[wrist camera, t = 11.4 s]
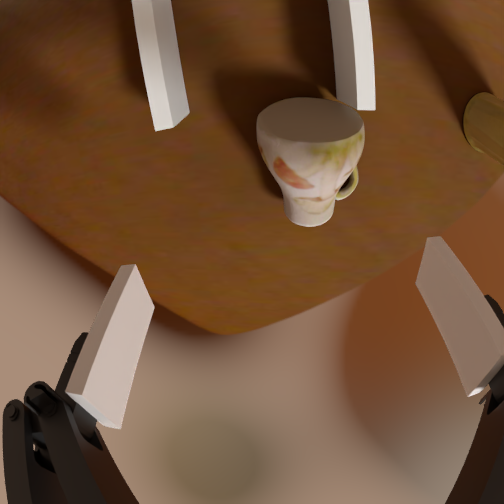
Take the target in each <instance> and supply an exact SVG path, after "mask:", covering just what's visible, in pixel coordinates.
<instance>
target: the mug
mask: <svg viewBox="0 0 504 504" xmlns="http://www.w3.org/2000/svg"><path fill="white" fill-rule="evenodd" d="M364 135H365V132H364V123H363V120H362V118H361V117H360V115H359V114H358V113H357V112H356V111H355V110H353V109H352V108H351V107H349V106H346V105H344V104H341V103H338V102H336V101H331V100H327V99H320V98H308V97H296V98H289V99H284V100H280V101H278V102H276V103H273V104H271V105H270V106H268V107H267V108H265V109H264V110H263V111H262V112H261V113H260V114H259V115H258V118H257V142H258V147H259V150H260V153H261V155H262V158H263V160H264V162H265V164H266V165H267V167H268V169H269V170H270V172H271V173H272V175H273V176H274V178H275V179H276V181H277V183H278V184H279V186H280V187H281V190H282V193H283V198H284V211H285V214H286V216H287V217H288V218H289V219H290V220H291V221H292V222H294V223H296V224H298V225H302V226H307V227H313V226H317V225H321V224H323V223H325V222H326V221H328V220H329V219H330V217H331V216H332V214H333V209H334V204H335V199H336V200H341V199H344V198H346V197H347V196H348V195H350V194H351V193H352V192H353V190H354V189H355V187H356V185H357V183H358V168H357V163H358V161H359V159H360V157H361V154H362V151H363V146H364ZM349 176H350V180H349V183H348V185H347V186H346V187H344V188H343V189H341V190H339V189H340V188H341V186H342V185H343V184H344V182H345V181H346V180H347V178H348V177H349Z"/></svg>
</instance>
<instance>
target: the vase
mask: <svg viewBox="0 0 504 504" xmlns="http://www.w3.org/2000/svg"><path fill="white" fill-rule="evenodd" d="M463 127H464V133H465V136H466V138H467V140H468V142H469V143H470V145H471V146H472V147H473V148H474V149H475V150H477V151H479V152H482V153H485V154H487V155H489V156H490V157H492V158H493V159H495V160H496V161H498V162H499V163H501V164H502V165H504V101H503V100H501V99H499V98H497V97H496V96H494V95H492V94H490V93H487V92H482V93H478V94H476V95H475V96H474V97H472V99H471V100H470V101H469V102H468V104H467V106H466V109H465V112H464V118H463Z"/></svg>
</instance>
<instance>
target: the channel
mask: <svg viewBox="0 0 504 504" xmlns="http://www.w3.org/2000/svg"><path fill="white" fill-rule="evenodd" d="M327 1H328V8H329V16H330V24H331V33H332V43H333V53H334V65H335V79H336V96H337V99H338V100H340V101H342V102H344V103H346V104H347V105H349V106H351V107H353V108H355V109H357V110H375V76H374V57H373V44H372V32H371V22H370V14H369V6H368V0H327ZM132 7H133V14H134V21H135V27H136V34H137V40H138V46H139V52H140V57H141V63H142V68H143V74H144V79H145V84H146V89H147V94H148V99H149V104H150V109H151V113H152V118H153V122H154V127H155V131H159V130H163V129H168V128H173V127H175V126H176V125H177V124H178V123H179V122H180V121H181V120H182V119H183V118H185V117H186V116H187V115H188V114H189V113H190V112H189V107H188V102H187V96H186V91H185V85H184V79H183V73H182V68H181V62H180V56H179V50H178V44H177V37H176V31H175V24H174V18H173V11H172V4H171V0H132Z"/></svg>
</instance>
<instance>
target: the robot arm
mask: <svg viewBox="0 0 504 504" xmlns="http://www.w3.org/2000/svg"><path fill="white" fill-rule="evenodd" d="M415 284H416V286H417V287H418V289H419V291H420V293H421V295H422V297H423V299H424V301H425V303H426V304H427V306H428V308H429V310H430V312H431V314H432V316H433V318H434V320H435V323H436V324H437V327H438V329H439V331H440V333H441V335H442V337H443V339H444V342H445V344H446V346H447V348H448V350H449V353H450V355H451V357H452V360H453V362H454V364H455V367H456V369H457V372H458V374H459V376H460V379H461V382H462V384H463V387H464V389H465V392H466V394H467V397H469V396H472V395H474V394H477V393H479V392H481V391H482V390H483V389H484V388H485V387H486V386H487V384H489V386H490V388H491V389H490V390H489V391H488V392H487V394H486V395H485V396H484V397H483V398H482V399H481V400H480V402H479V404H482V403H483V402H484V401H485V400H486V402H485V404H484V409H483V412H482V416H481V419H480V422H479V425H478V428H477V431H476V434H475V437H474V440H473V442H472V445H471V448H470V450H469V453H468V455H467V458H466V460H465V463H464V466H463V467H462V470H461V472H460V474H459V476H458V479H457V481H456V483H455V485H454V487H453V489H452V491H451V493H450V495H449V497H448V499H447V501H446V503H445V504H504V314H503V311H502V309H501V308H500V306H499V305H498V303H497V302H496V301H495V300H494V299H492V297H490V296H489V295H485V296H484V295H483V294H482V292H481V291H480V289H479V288H478V286H477V285H476V283H475V282H474V281H473V279H472V278H471V276H470V275H469V273H468V272H467V271H466V269H465V268H464V267H463V265H462V264H461V262H460V261H459V260H458V258H457V257H456V256H455V254H454V253H453V252H452V250H451V249H450V248H449V246H448V245H447V244H446V243H445V241H444V240H443V239H442V238H441V237H440V236H439V237H428V238H427V241H426V246H425V250H424V254H423V258H422V262H421V266H420V269H419V273H418V276H417V280H416V283H415ZM153 311H154V305H153V303H152V301H151V298H150V296H149V294H148V292H147V290H146V287H145V285H144V283H143V280H142V278H141V276H140V273H139V271H138V269H137V266H136V264H132V265H121V267H120V269H119V271H118V273H117V275H116V277H115V279H114V281H113V283H112V285H111V286H110V289H109V291H108V293H107V295H106V297H105V299H104V301H103V303H102V305H101V307H100V309H99V311H98V314H97V316H96V318H95V320H94V322H93V324H92V327H91V329H90V331H89V333H85V332H84V333H82V334H81V335H80V337H79V338H78V339H77V340H76V341H75V343H74V345H73V348H72V350H71V354H69V357H68V359H67V362H66V364H65V366H64V369H63V371H62V374H61V376H60V379H59V381H58V384H57V386H56V389H55V391H54V390H53V389H52V388H51V387H50V386H49V385H48V384H46V383H45V382H42V381H38V382H35V383H33V384H32V385H31V386H29V388H28V389H27V391H26V392H25V396H24V404H23V403H22V402H21V401H19V400H17V399H14V400H12V401H10V402H9V403H8V404H7V405H6V407H5V409H4V412H3V461H4V475H5V484H6V492H7V500H8V504H139V502H138V501H137V499H136V498H135V496H134V495H133V493H132V492H131V490H130V488H129V486H128V485H127V483H126V481H125V480H124V478H123V476H122V475H121V473H120V471H119V469H118V467H117V466H116V464H115V462H114V460H113V458H112V456H111V454H110V452H109V450H108V448H107V446H106V444H105V442H104V440H103V438H102V436H101V434H100V432H99V430H98V429H97V427H96V422H97V421H99V422H100V423H101V424H102V425H104V426H106V427H111V428H117V429H121V425H122V421H123V416H124V413H125V409H126V405H127V401H128V397H129V393H130V389H131V385H132V382H133V378H134V374H135V371H136V367H137V364H138V360H139V356H140V353H141V349H142V346H143V343H144V339H145V336H146V333H147V330H148V326H149V323H150V320H151V317H152V314H153ZM33 444H34V445H35V451H34V450H33Z"/></svg>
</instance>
